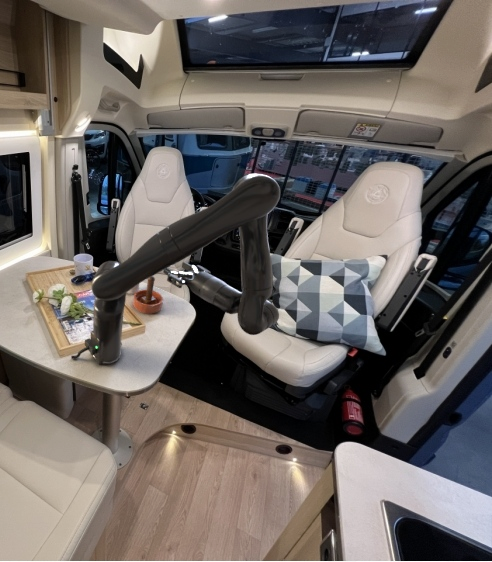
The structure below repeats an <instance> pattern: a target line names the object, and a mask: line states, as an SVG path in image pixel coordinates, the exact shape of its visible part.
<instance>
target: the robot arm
mask: <svg viewBox="0 0 492 562" xmlns="http://www.w3.org/2000/svg"><path fill="white" fill-rule="evenodd" d="M280 198H281V187H280V186H279V184H278V182H277V181H276V180H275V179H274V178H272V177H270V176H269V175H266V174H262V173H249V174H246V175H244V176H241V177H240V178H239V179H238V180H237V181H236V182H235V184H234V186H233V187H232V189H231V191H229V192H228V193H227V194H225V195H224V196H223V197H221V198H220V199H219V200H217V201H215V202H214V203H213V204H211V205H210V206H208V207H206V208H204V209H202V210H200V211H197V212H194V213H192V214H190V215H187V216H184V217H183V218H180V219H179V220H176V221H174V222H172V223H171V224H169V225H168V226H166V227H164V228H163V229H161V230H159V231H157V232H156V233H155V234H154V235H153V236H151V237H150V238H149V239H148V240H147V241H145V242H144V243H143V244H142V245H141V246H140V247H139V248H138V249H137V250H136V251H134V253H133V254H132V255H131V256H130V257H128V258H127V259H126V260H124V261H123V262H121V263H120V262H118V261H116V260H108V261H105V262H103V263H102V264H100V266H99V267H98V269H97V270H96V272H95V274H94V276H93V278H92V281H91V287H90V288H91V292H92V295H93V297H95V298H94V302H93V317H92V318H93V321H92V322H93V323H92V325H93V327H92V330H91V331H90V338H89V337H88V338H87V339H84V346H85V347H84V348H81V349H80V350H79V351H78V352H77V354H76V355H71V357H70V358H71V359H72V360H76V359H78V358H80V356H81V355H82V354H84V352H86V351H88V352H89V353H90V355H91V356H92V358H93V359H94V360H95V361H96V363H97V364H98V365H102V364H103V365H111V364H114V363H116V362H117V361H118V360H119V359H120V358H121V354H122V353H121V351H122V350H121V348H122V345H123V344H122V335H123V324H124V312H125V305H126V300H127V299H126V298H127V294H128V293H127V292H128V291H129V290H131V289H132V288H133V287H135V286H136V285H138V284H139V285H140V284H141V283H143V282H144V281H146V280H148V278H150V277H152V276H155V275H158V274H159V273H162V272H163V274H164V275H166V277H167V279H166V281H167V282H168V283H170V284H171V285H174V286H175V287H177V288H178V289H182V287H183V286H184V285H185V286H187V287H189V288H190V291H191V292H192V293H194V294H195V295H196V296H198V297H199V298H200V299H203V300H204V301H206V302H207V303H209V304H211V305H214V306H215V307H217V308H218V309H220V311H223V312H224V313H225V314H229V315H235V314H237V322H238V326H239V327H240V329H241V330H242V331H243V332H244V333H245V334H247V335H251V336H256V335H257V336H258V335H259V334H261V333H264V331H266V330H267V329H269V328H270V327H272V326H273V325H276V323H278V321H279V319H280V313H279V310H278V309H277V306H276V305H275V304H273V303H272V302H271V301H269V300H268V299H269V298H270V297H271V296H272V295H273V289H274V288H273V287H274V286H273V281H274V280H273V265H272V257H271V250H270V245H269V237H268V214H270V213H271V212H272V211H273V210H274V209H275V208H276V206H277V205H278V202H279V201H280ZM236 229H238V233H239V247H240V277H241V278H240V279H241V290H242V291H239V290H238V289H236V288H234V287H232V286H231V285H229V284H227V283H226V282H225V281H223V280H222V279H220V278H218V277H216V276H214V275H212V274H211V271H210V270H208V269H207V268H206V267H203V266H201V265H199V264H196V265H194V264H189V263H188V262H186V261H183V260H185V259H187V258H188V257H190V256H192V255H193V254H195V253H196V252H198V251H200V250H202V249H203V248H205V247H206V246H208V245H209V244H211V243H213V242H214V241H216V240H218V238H221V237H223V236H224V235H226V234H227V233H230V232H232V231H234V230H236ZM182 261H183V262H182ZM180 262H181V268H182V269H184V270H185V271H174V270H173V269H171V268H170V267H172V266H175V265H176V264H178V263H180Z"/></svg>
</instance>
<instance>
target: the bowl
mask: <svg viewBox="0 0 492 562" xmlns="http://www.w3.org/2000/svg"><path fill="white" fill-rule="evenodd" d="M146 291H147V289H139V291H137V292H136V293H135V294H133V300H132V306H133V308H134V309H135V310H136V311H138V312H139V313H142V314H147V315H149V314H150V315H151V314H156V313H158V312H160V311H161V310H162V308H163V302H164V298H163V297H164V296H163V295H162V294H161V293H159V292H158V291H155V290H153V294H152V296H153V297H154V298H155V299H156V302H155V304H154V305H147V304H143V303H141V298H142V297H145V296H146Z"/></svg>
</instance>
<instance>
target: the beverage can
mask: <svg viewBox="0 0 492 562" xmlns="http://www.w3.org/2000/svg"><path fill="white" fill-rule="evenodd" d="M137 291H140V283H139V284H138V285H136V286H135V287H133V288H132V289H131V290H129V291H128V292H127V293H126V294H129V295H134V294H135V293H136V292H137Z"/></svg>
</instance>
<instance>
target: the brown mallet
mask: <svg viewBox="0 0 492 562" xmlns="http://www.w3.org/2000/svg"><path fill="white" fill-rule="evenodd" d="M155 281H156V278H155V275H153V276H152V277H150V278H148V279H147V284H146V290H147V291H146V296H145V297H142V298H141V303H143V304H147V305H154V304H155V302H156V299H155V298H154V297H153V296H152V294H153V291H154V285H155Z"/></svg>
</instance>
